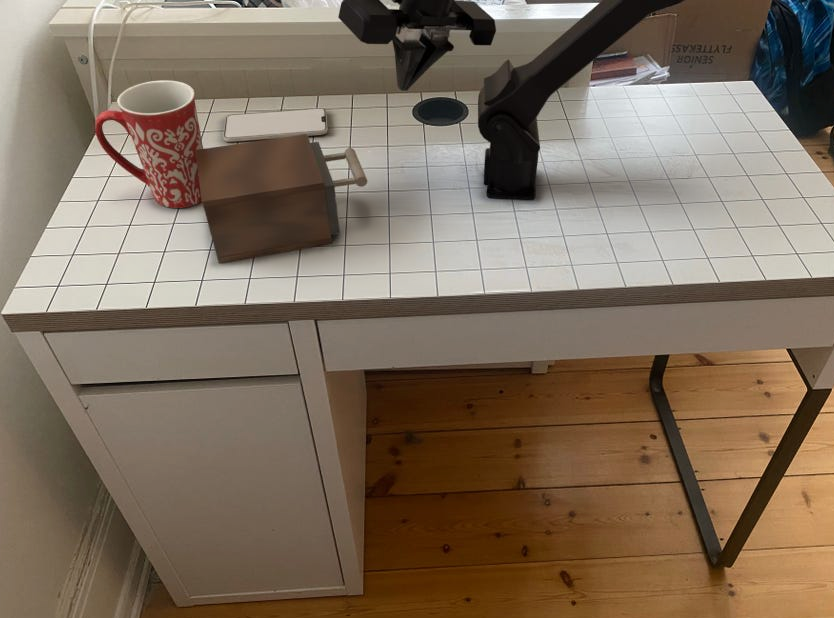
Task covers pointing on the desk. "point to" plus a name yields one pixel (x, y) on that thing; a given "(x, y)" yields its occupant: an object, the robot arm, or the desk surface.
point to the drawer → (330, 185)
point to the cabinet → (263, 197)
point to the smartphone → (275, 124)
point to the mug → (160, 139)
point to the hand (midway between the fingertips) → (402, 88)
